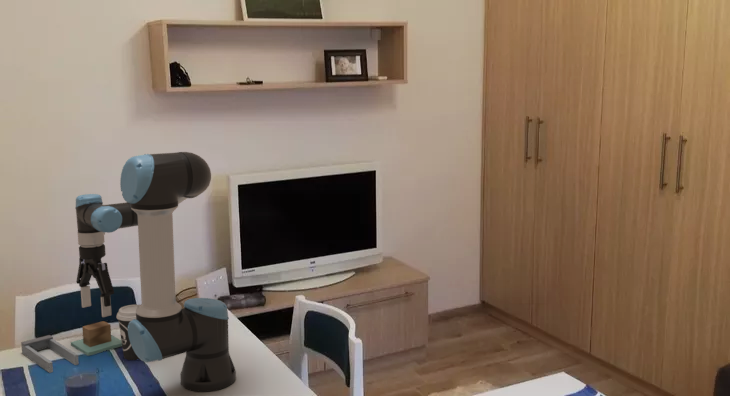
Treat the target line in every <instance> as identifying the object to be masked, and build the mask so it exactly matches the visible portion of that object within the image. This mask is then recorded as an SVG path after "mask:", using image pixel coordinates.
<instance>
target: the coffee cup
mask: <svg viewBox="0 0 730 396" xmlns="http://www.w3.org/2000/svg"><path fill="white" fill-rule="evenodd" d="M140 305H141V304H128V305H124V306H121V307H120V308H119V309H118V312H117V313H116V319H117V320H118V327H119V333H120V340H121V341H122V346H121V347H122V353H123V358H124V359H125V360H126V359H127V361H138V360H137V359H139V358H138V356H137V355H136V354H135V352H134V350H133V348H132V346H131V343H130V340H129V336H128V325H129V322H130V321H132V320H133V319H135V320H136V309H137V308H138V307H139V306H140ZM139 360H140V359H139Z"/></svg>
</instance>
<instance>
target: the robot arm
mask: <svg viewBox="0 0 730 396" xmlns="http://www.w3.org/2000/svg"><path fill="white" fill-rule="evenodd" d="M120 173H121V174H120V180H119V181H120V183H119V184H120V192H121V196H122V198H123V200H124V201H125V202H119V203H111V204H109V203H108V204H103V203H104V202H103V199H102V198H103V197H102V196H101V195H100V194H98V193H85V194H81V195H80V194H79V195H78V196H76V197H75V215H76V216H75V217H76V225H77V226H76V227H77V241H78V242H77V244H78V245H79V247H78V252H79V253H78V255H79V258H78V259H79V260H78V261H79V262H78V263H79V264H78V269H77V270H78V271H77V274H76V284H78V286H79V287H80V297H81V298H80V300H81V308H84V309H85V308H87V307H91V306H92V298H91V297H92V296H91V286H90V285H91V283H90V281H91V279H92V278H94V279H95V281H96V284H97V286H98V288H99V291H100V293H101V294H100V296H99V297H100V305H101V306H100V307H101V317H102V318H106V317H109V316H112V304H111V302H112V301H111V300H112V299H111V296H112V295H114V294H115V290H114V286H113V284H112V280H111V277H110V272H109V269H108V263H107V262H103V261H102V258H104V257H105V256H106V254H107V253H106V245H105V244H104V243H105V235H106V233H108V234H109V233H114V232H115V231H118V230H120V229H126V228H130V227H137V233H138V235H137V236H138V252H139V253H138V255H139V256H138V257H139V275H140V278H139V279H140V280H139V281H140V297H141V298H140V301H141V304H139V305H140V306H139V307H138V308H137V309H136V320H135V319H133V320H132V321H130V322H129V325H128V336H129V340H130V343H131V346H132V348H133V350H134V352H135V354H136V355H137V356H138V358H139V360H141V362H144V363H152V362H156V361H158V362H159V361H160V362H161V361H162V360H165V359H168V358H172V357H175V356H178V355H181V354H185V358H184V362H183V365H182V368H181V371H180V384H181V386H182V387H183V388H185V389H186V390H189V391H193V392H213V391H219V390H222V389H225V388H228V387H230V386H231V385H232V384H234V383H235V382H236V378H237V375H236V368H235V364H234V363H233V359H232V357H231V354H230V351H229V350H230V349H229V348H230V347H229V342H230V341H229V320H230V319H229V312H228V306H227V304H226V303H225V302H223V301H222V300H220V299H215V298H211V297H210V298H209V297H195V298H189V299H187V300H185V301H184V302H183V303H184V304H183V306H182V305H181V304H180V303H179V302H178V301H177V300H176V277H175V274H176V273H175V270H176V269H175V247H174V246H175V245H174V220H173V212H175V211H176V209H177V208H179V205H180V204H181V203H183V202H184V201H186V200H187V199H194V198H197V197H199V196H200V195H201V194H203V193H204V192H205V191H206V190H208V188H209V186H210V184H211V181H212V172H211V168H210V166H209V164H208V163H207V161H206V160H205V159H204V158H203V157H201V156H200V155H198V154H196V153H193V152H189V151H178V152H165V153H150V154H149V153H147V154H146V153H144V154H141V155H134V156H131V157H129V158H128V159H127V161H125V163H124V165H123V167H122V169H121V172H120ZM182 307H183V308H182Z"/></svg>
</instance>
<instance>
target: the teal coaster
mask: <svg viewBox="0 0 730 396" xmlns="http://www.w3.org/2000/svg"><path fill="white" fill-rule="evenodd" d="M70 347H73V348H74V349H76V350H78V351H80V352H81V353H82V354H84V355H85V356H88V357H90V356H93V355H96V354H100V353H103V351H104V352H107V351H110V349H111V350H113V349H116V348H121V347H122V341H121V338H118V337H116V336H114V335H112V334H111V341H110V342H107V343H103V344H99V345H96V346H92V347H89V346H87V345H86V344H84V343H83V338H82V339H81V338H80V339H78V340H74V341H70ZM106 350H107V351H106Z"/></svg>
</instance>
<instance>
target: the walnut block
mask: <svg viewBox="0 0 730 396" xmlns="http://www.w3.org/2000/svg"><path fill="white" fill-rule="evenodd" d="M111 327H112V326H111V324H110V323H108V322H107V321H104V320H103V321H99V322H93V323H91V324H87V325H84V326H83V325H82V339H83V343H84V344H86V345H87V346H89V347H92V346H96V345H99V344H103V343H107V342H110V341H111V335H112V328H111Z"/></svg>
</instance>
